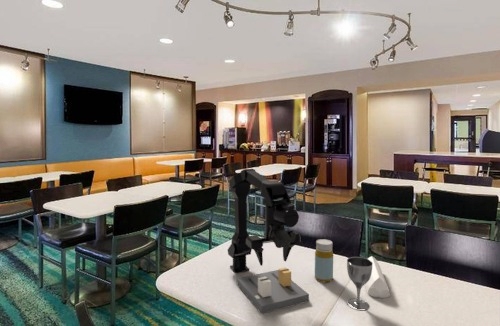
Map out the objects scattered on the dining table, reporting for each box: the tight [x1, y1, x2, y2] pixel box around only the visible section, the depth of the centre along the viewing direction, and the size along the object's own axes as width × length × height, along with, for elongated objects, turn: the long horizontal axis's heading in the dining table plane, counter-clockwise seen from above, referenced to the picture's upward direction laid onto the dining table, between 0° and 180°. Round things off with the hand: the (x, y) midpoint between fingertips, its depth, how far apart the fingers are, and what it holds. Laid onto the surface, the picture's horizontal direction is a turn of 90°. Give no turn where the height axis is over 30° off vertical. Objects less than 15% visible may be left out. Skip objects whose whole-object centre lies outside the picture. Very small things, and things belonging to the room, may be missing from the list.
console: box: [236, 269, 310, 314], centre depth 112 cm, size 21×18×3 cm
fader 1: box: [258, 276, 271, 297], centre depth 106 cm, size 4×3×5 cm
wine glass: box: [346, 256, 372, 311], centre depth 104 cm, size 8×8×15 cm
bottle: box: [314, 238, 334, 283], centre depth 122 cm, size 7×7×15 cm
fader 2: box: [277, 267, 292, 287], centre depth 113 cm, size 4×3×5 cm
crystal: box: [364, 255, 391, 299], centre depth 119 cm, size 7×7×24 cm
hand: (273, 263), depth 108 cm, fingers open, 9 cm apart
